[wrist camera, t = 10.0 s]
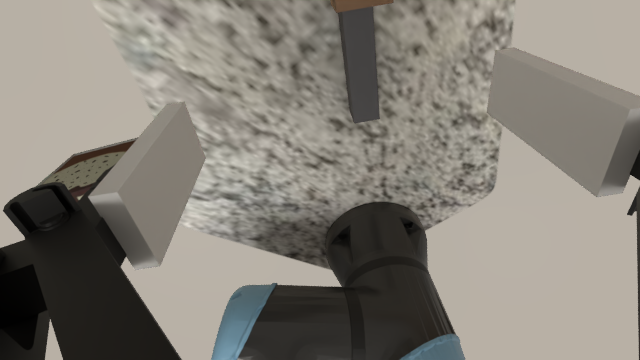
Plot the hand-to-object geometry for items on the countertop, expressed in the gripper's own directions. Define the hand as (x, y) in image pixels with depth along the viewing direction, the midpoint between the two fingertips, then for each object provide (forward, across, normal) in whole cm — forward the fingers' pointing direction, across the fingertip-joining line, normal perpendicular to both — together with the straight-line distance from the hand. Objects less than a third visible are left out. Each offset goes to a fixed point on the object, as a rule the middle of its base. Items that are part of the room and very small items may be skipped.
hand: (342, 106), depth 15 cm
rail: (+24, -4, +2) cm, 24 cm away
